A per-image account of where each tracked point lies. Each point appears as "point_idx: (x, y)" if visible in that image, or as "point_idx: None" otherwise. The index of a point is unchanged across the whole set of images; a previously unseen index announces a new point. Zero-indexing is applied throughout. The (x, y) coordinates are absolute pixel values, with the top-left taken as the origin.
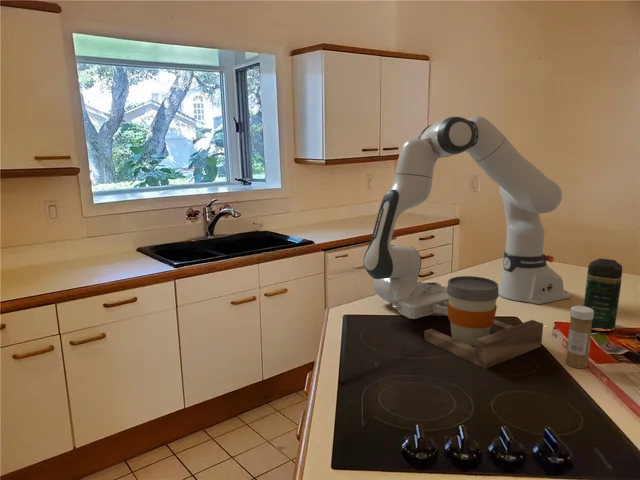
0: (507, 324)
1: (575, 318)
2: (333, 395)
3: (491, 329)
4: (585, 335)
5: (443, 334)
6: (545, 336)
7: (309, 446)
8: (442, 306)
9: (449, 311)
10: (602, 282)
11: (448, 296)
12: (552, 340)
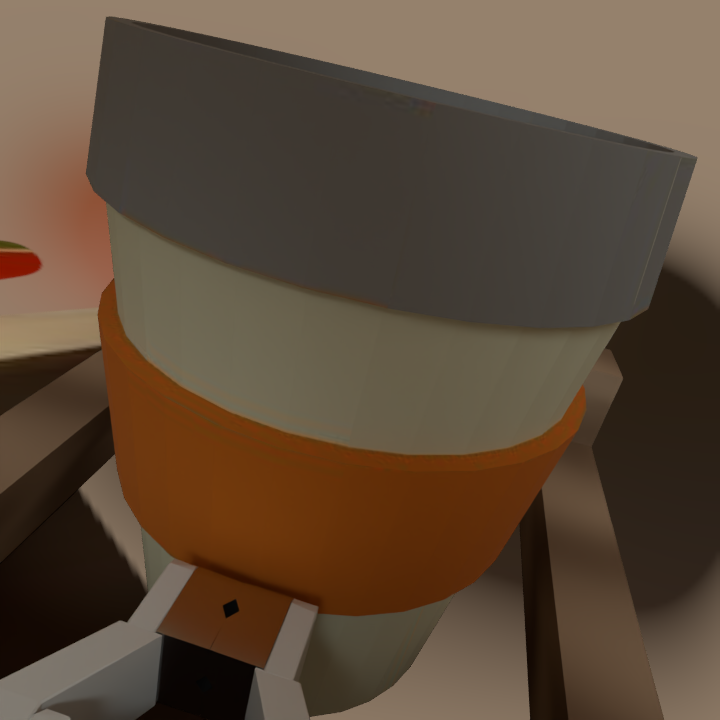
0: (59, 379)
1: None
2: None
3: (64, 487)
4: None
5: (572, 650)
6: (27, 329)
7: None
8: (275, 711)
9: (539, 487)
10: None
11: (571, 362)
12: (73, 317)
